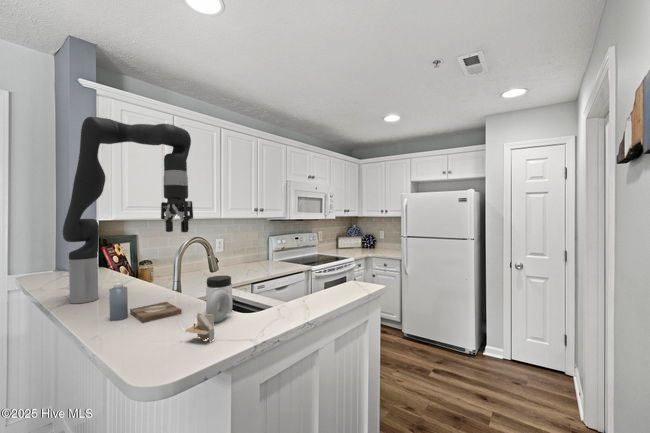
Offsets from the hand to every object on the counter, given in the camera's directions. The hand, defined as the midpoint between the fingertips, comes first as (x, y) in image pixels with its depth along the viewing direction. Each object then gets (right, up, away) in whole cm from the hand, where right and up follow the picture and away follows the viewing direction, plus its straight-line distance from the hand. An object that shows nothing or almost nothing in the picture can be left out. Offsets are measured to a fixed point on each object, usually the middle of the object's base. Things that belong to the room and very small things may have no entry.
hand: (177, 232), depth 105 cm
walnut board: (-8, -29, +2) cm, 30 cm away
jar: (+14, -28, +3) cm, 32 cm away
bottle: (-18, -29, -3) cm, 34 cm away
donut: (+17, -29, -7) cm, 34 cm away
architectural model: (+18, -29, -22) cm, 40 cm away
